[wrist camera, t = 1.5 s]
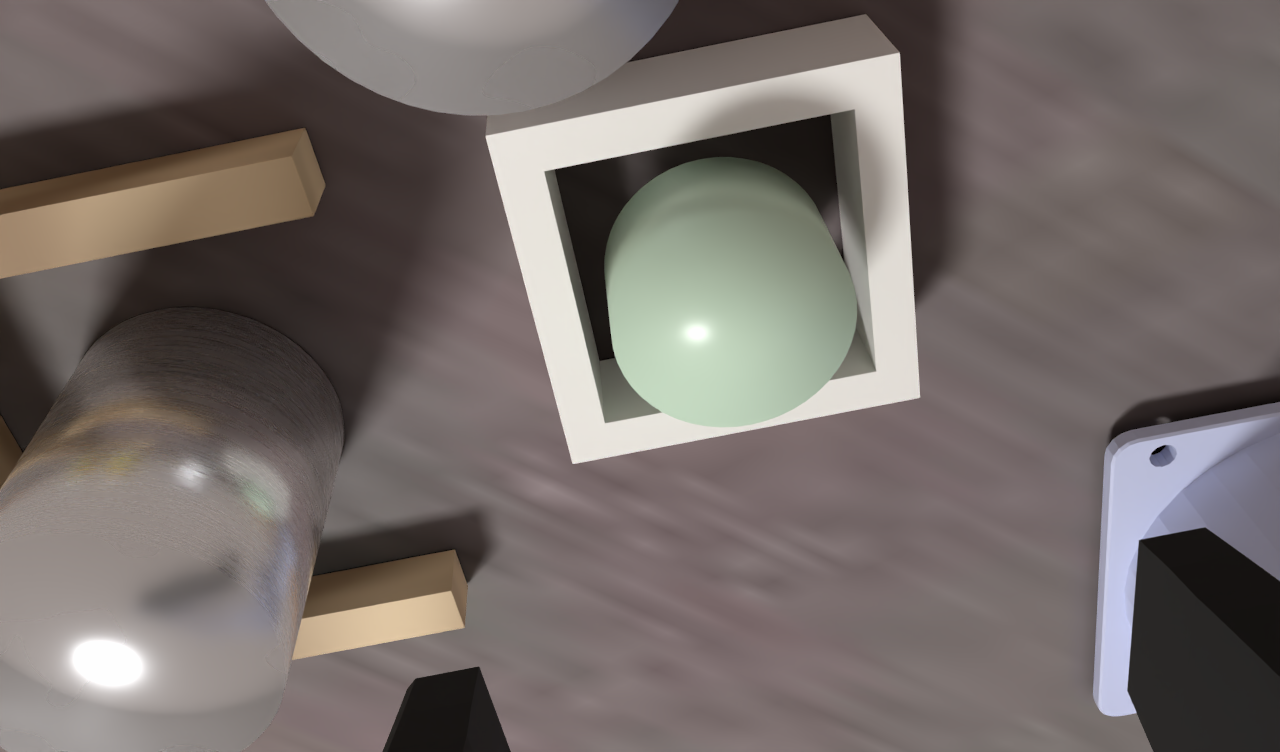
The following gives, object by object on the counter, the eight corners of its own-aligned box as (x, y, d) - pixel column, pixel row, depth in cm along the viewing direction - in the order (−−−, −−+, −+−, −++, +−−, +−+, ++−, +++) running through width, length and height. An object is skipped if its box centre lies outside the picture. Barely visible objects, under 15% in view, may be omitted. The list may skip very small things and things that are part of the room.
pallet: (47, -596, 14) (-21, -630, 12) (467, 585, 24) (462, 658, 22) (-599, -450, 14) (-757, -462, 12) (90, 656, 24) (57, 733, 22)
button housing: (866, 14, 18) (899, 52, 16) (889, 337, 21) (920, 397, 20) (490, 90, 18) (485, 135, 17) (569, 399, 22) (572, 464, 20)
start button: (816, 135, 18) (846, 188, 16) (837, 336, 19) (865, 402, 18) (583, 182, 18) (588, 240, 16) (626, 377, 20) (635, 446, 18)
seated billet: (293, 283, 20) (209, 503, 15) (377, 498, 22) (330, 748, 17) (22, 336, 20) (-152, 572, 15) (137, 544, 23) (22, 804, 18)
